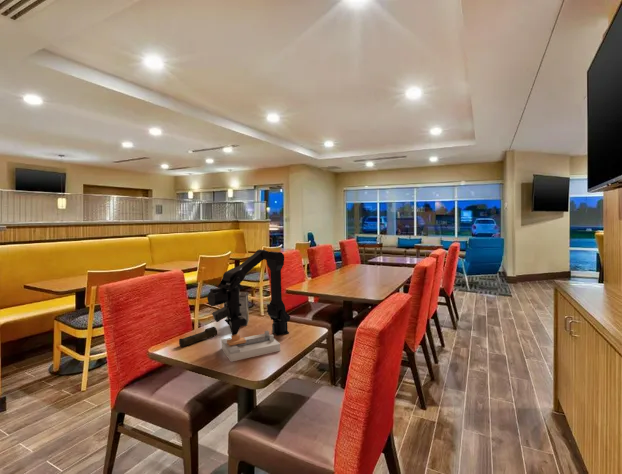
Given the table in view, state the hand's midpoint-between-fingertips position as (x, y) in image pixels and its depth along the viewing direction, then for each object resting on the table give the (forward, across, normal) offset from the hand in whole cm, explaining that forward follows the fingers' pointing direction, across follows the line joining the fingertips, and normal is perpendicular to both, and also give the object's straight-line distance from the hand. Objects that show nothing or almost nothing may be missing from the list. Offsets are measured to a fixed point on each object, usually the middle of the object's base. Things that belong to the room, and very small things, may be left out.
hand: (234, 337), depth 141 cm
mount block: (+6, +4, +6) cm, 9 cm away
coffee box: (+6, -33, +13) cm, 36 cm away
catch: (+1, +4, 0) cm, 4 cm away
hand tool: (+6, -19, -11) cm, 23 cm away
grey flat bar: (+2, +4, +7) cm, 9 cm away
